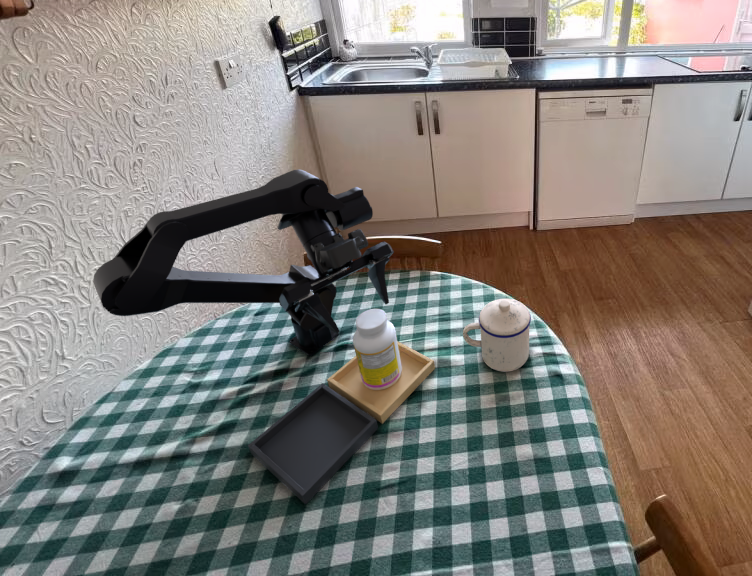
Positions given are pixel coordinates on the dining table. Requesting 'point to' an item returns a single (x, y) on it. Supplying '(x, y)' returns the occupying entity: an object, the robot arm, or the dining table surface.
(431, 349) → the dining table surface
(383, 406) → the light tray
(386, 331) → the supplement bottle
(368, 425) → the dark tray
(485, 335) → the teacup with lid
